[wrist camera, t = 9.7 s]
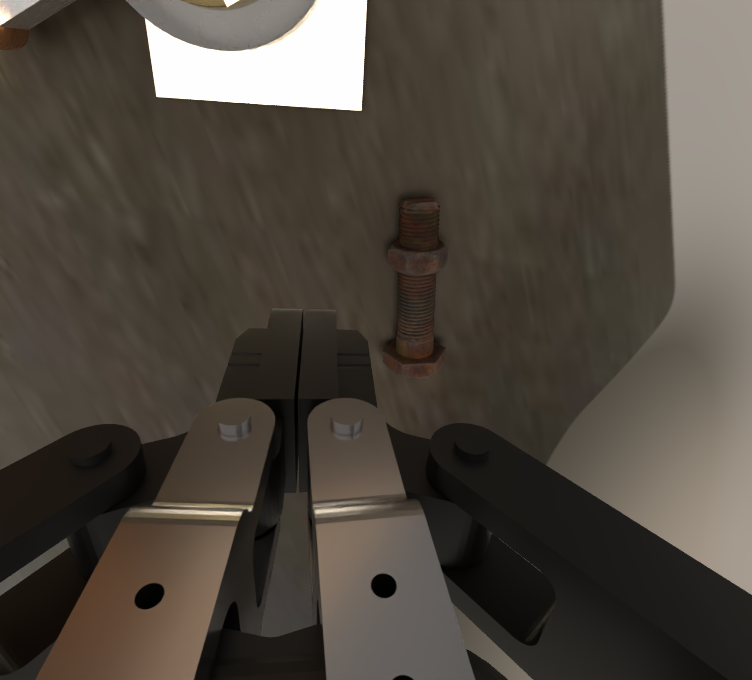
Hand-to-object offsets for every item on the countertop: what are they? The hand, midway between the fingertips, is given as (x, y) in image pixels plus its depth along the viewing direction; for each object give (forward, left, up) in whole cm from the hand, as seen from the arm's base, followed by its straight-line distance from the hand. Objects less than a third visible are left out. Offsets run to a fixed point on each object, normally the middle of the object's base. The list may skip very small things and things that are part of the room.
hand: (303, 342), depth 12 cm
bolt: (-9, +11, -29) cm, 32 cm away
